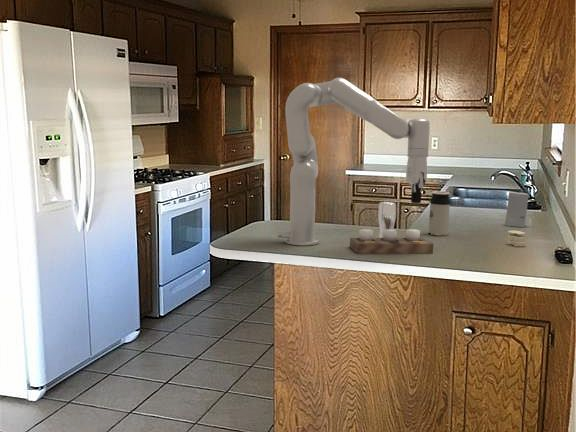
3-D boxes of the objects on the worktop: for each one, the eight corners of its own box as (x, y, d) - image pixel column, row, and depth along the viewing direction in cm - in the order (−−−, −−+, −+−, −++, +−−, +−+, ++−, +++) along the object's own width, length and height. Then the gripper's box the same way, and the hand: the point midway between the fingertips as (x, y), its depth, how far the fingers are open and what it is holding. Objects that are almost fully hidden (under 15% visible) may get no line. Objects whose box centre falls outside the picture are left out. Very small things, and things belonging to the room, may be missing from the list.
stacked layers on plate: (533, 247, 249) (534, 233, 248) (517, 249, 244) (518, 235, 244) (513, 242, 257) (514, 229, 256) (497, 244, 253) (498, 230, 252)
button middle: (384, 241, 233) (385, 231, 232) (381, 239, 238) (381, 229, 237) (398, 241, 234) (398, 231, 233) (393, 239, 238) (394, 229, 238)
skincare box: (505, 226, 297) (507, 192, 295) (507, 224, 304) (510, 191, 301) (524, 227, 293) (526, 193, 291) (526, 225, 300) (529, 192, 297)
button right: (408, 241, 234) (409, 231, 234) (404, 239, 239) (404, 229, 239) (421, 241, 235) (422, 231, 234) (416, 239, 240) (417, 229, 239)
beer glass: (381, 242, 249) (383, 204, 247) (374, 238, 256) (376, 201, 254) (397, 241, 251) (399, 204, 249) (390, 238, 258) (392, 201, 255)
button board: (357, 253, 226) (358, 243, 226) (349, 246, 238) (350, 236, 237) (432, 253, 230) (433, 242, 230) (421, 246, 242) (421, 236, 242)
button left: (361, 241, 232) (361, 231, 231) (357, 239, 236) (358, 229, 236) (374, 241, 232) (374, 231, 232) (370, 239, 237) (371, 229, 237)
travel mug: (446, 233, 273) (449, 191, 271) (448, 236, 266) (451, 193, 263) (427, 232, 275) (430, 190, 272) (429, 235, 267) (431, 192, 264)
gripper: (401, 152, 239) (399, 200, 242) (415, 154, 224) (413, 205, 227) (420, 152, 240) (418, 200, 243) (435, 154, 225) (433, 205, 228)
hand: (415, 202), depth 235 cm, fingers closed
